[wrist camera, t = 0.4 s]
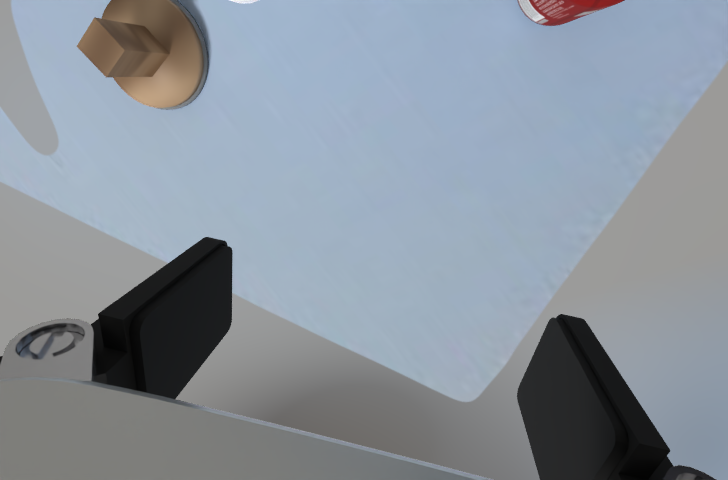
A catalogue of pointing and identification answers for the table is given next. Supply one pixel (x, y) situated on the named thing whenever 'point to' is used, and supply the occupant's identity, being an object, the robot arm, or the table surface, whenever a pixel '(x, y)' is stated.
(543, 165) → the table surface
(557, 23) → the soda can
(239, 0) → the base with upright slab
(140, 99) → the lid
